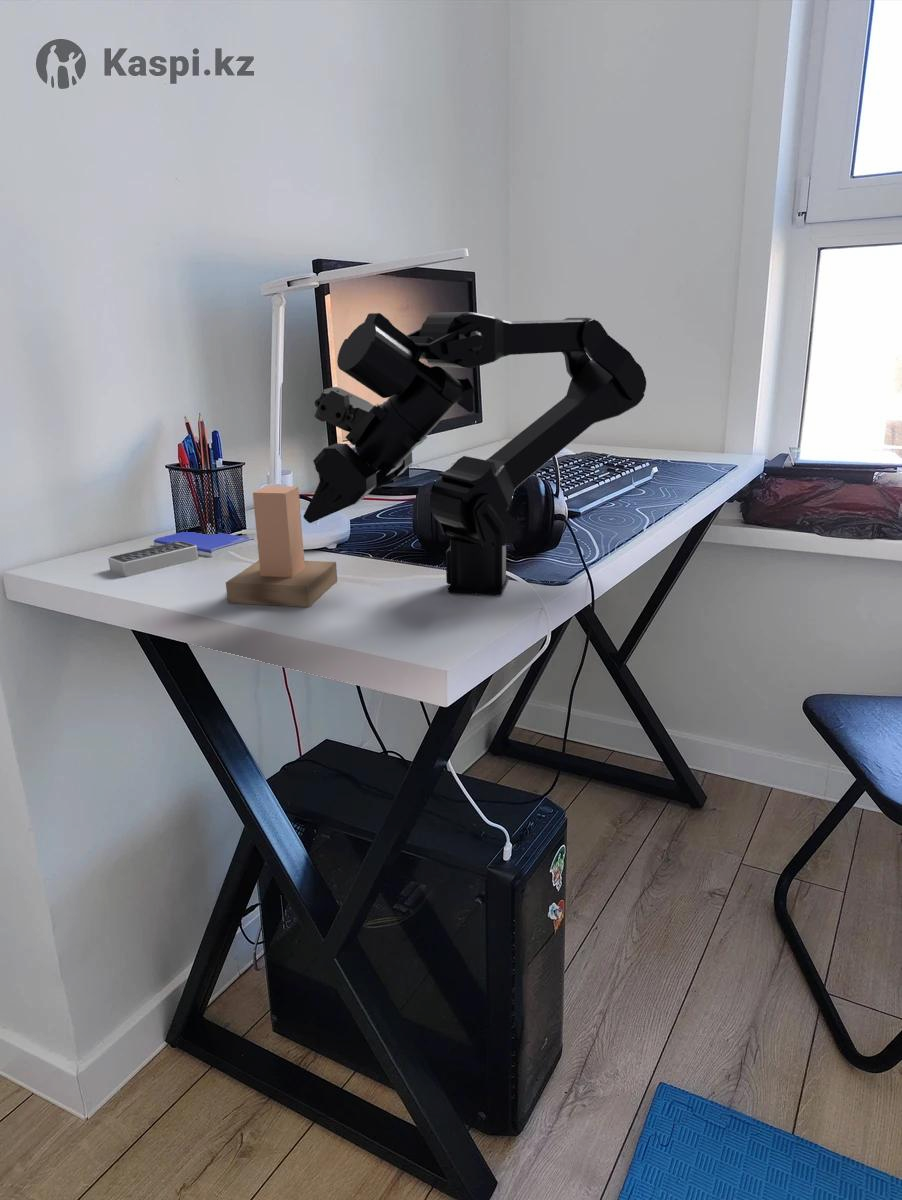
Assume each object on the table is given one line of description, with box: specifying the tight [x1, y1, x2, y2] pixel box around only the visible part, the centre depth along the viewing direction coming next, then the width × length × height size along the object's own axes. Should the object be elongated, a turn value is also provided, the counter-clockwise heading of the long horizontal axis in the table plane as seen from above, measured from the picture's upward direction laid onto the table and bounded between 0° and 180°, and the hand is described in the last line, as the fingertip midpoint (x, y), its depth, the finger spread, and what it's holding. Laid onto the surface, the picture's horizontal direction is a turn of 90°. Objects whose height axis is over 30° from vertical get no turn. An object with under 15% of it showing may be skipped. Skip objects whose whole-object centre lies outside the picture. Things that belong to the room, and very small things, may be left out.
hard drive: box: [153, 530, 255, 558], centre depth 125 cm, size 2×8×12 cm
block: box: [252, 485, 305, 577], centre depth 101 cm, size 4×4×10 cm
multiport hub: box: [107, 541, 199, 578], centre depth 116 cm, size 4×11×2 cm, turn 138°
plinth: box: [225, 560, 338, 608], centre depth 103 cm, size 10×10×2 cm
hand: (321, 510), depth 99 cm, fingers open, 9 cm apart
